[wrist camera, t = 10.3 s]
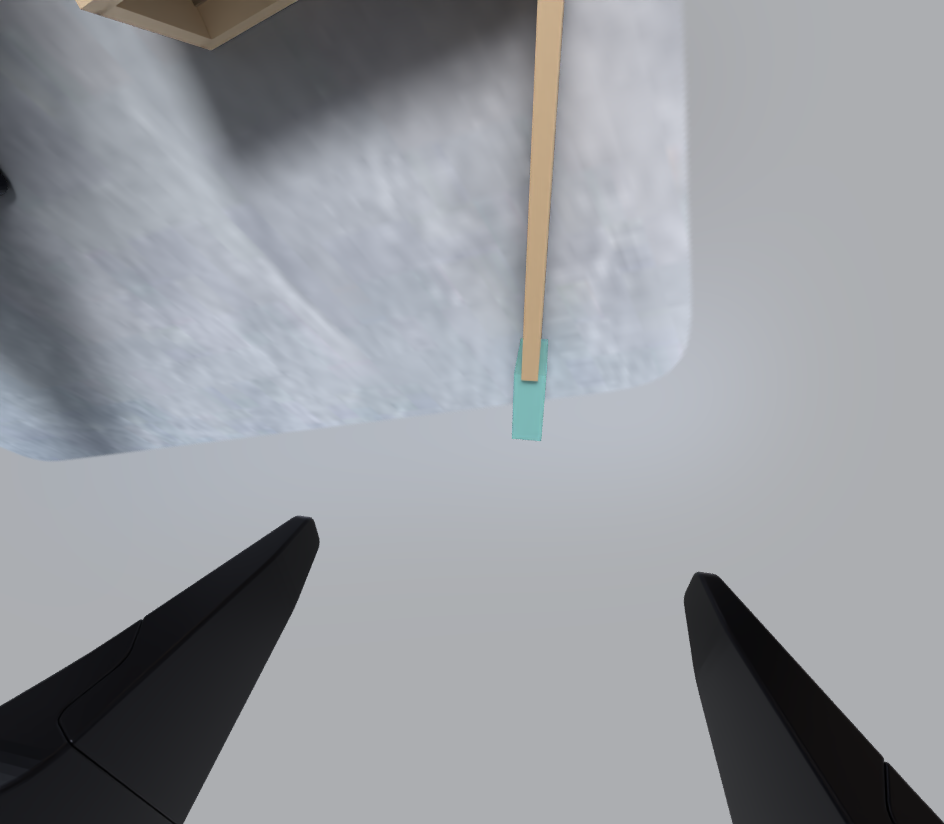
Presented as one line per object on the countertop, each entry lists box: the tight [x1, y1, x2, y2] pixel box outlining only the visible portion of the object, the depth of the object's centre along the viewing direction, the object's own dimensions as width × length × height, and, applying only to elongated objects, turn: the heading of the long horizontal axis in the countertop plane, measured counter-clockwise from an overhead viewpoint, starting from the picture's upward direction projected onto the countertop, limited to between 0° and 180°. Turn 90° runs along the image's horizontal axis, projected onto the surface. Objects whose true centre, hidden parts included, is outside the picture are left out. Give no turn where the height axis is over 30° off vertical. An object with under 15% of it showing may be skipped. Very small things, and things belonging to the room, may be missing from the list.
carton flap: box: [512, 0, 564, 441], centre depth 14 cm, size 16×1×4 cm, turn 1°
